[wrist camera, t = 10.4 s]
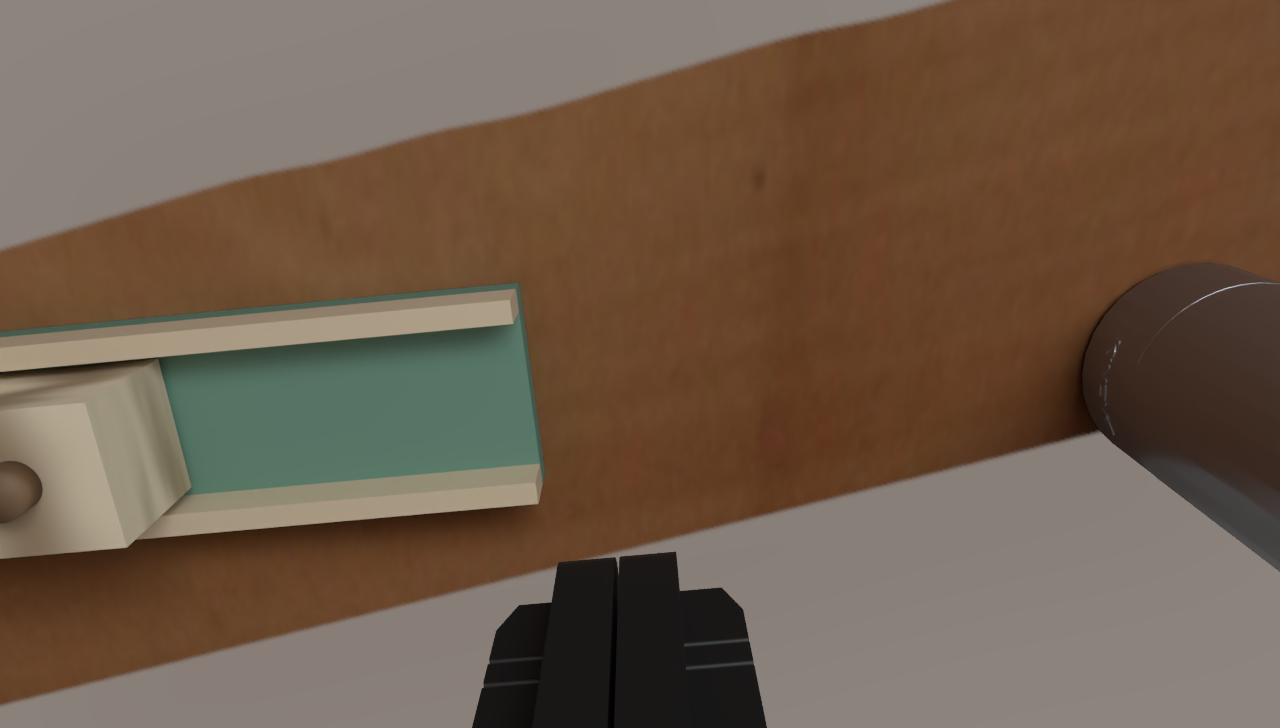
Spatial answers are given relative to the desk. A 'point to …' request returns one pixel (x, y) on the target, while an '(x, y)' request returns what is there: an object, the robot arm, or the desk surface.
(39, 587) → the desk surface
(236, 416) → the rail
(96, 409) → the cream knobbed cube
